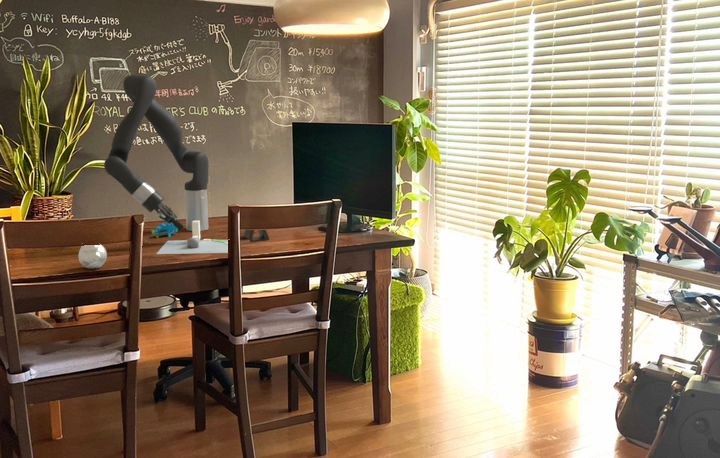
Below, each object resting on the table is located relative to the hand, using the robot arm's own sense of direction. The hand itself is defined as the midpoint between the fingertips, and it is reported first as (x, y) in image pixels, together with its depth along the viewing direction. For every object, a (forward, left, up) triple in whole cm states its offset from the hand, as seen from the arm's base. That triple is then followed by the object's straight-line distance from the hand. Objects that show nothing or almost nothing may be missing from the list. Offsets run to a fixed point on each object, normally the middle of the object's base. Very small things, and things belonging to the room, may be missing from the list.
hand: (182, 228), depth 273 cm
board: (+9, +7, -6) cm, 13 cm away
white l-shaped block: (+4, +5, -5) cm, 8 cm away
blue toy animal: (-13, -9, -7) cm, 17 cm away
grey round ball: (+36, -24, -7) cm, 44 cm away
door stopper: (-9, +27, -7) cm, 29 cm away
